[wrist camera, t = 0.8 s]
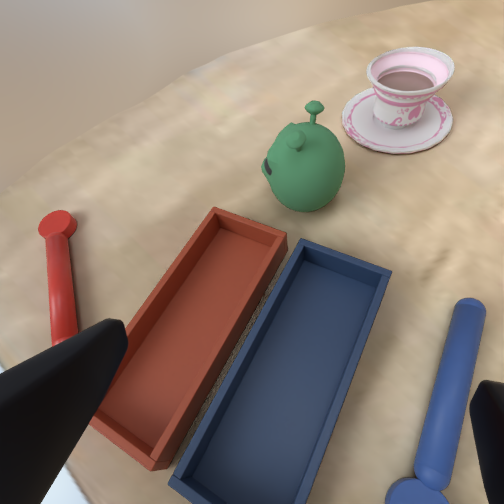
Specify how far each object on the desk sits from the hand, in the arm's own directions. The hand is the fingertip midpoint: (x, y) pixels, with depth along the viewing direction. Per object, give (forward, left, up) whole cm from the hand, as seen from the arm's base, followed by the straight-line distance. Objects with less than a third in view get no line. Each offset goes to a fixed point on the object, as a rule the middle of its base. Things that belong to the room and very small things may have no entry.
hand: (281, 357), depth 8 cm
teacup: (+34, +3, -18) cm, 38 cm away
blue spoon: (+5, -9, -18) cm, 21 cm away
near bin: (+3, +1, -18) cm, 18 cm away
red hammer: (+1, +25, -18) cm, 31 cm away
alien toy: (+19, +8, -18) cm, 27 cm away
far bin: (+3, +10, -18) cm, 21 cm away
